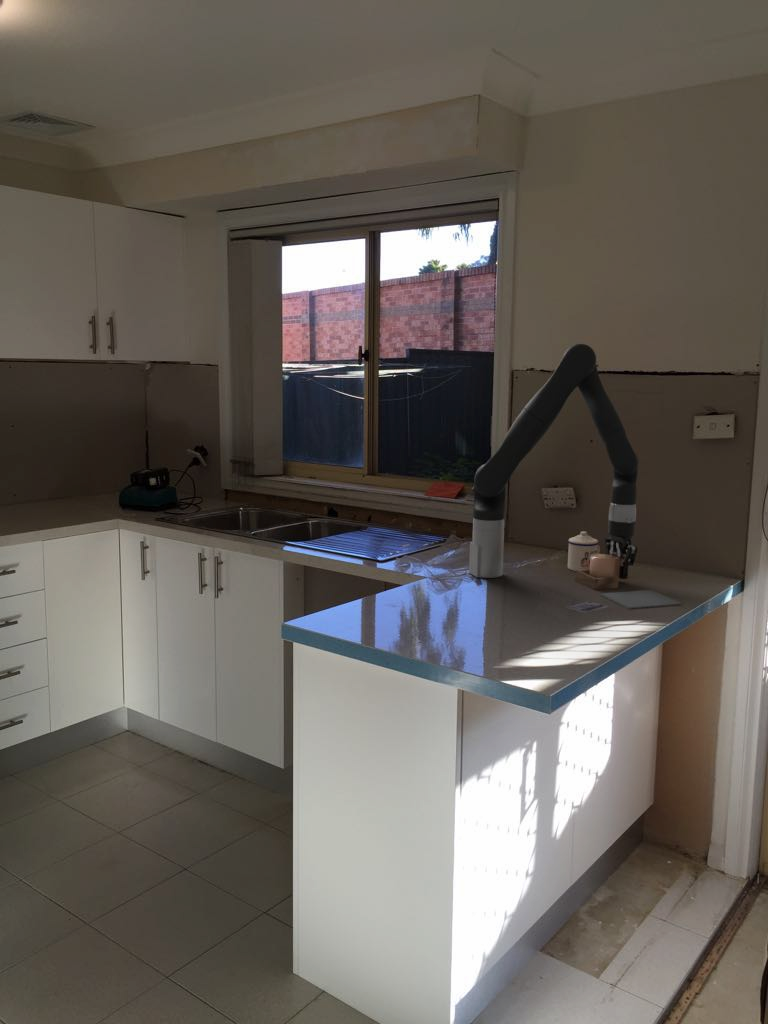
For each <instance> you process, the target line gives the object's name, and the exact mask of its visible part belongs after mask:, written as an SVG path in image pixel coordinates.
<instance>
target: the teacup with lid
mask: <svg viewBox="0 0 768 1024" xmlns="http://www.w3.org/2000/svg"><path fill="white" fill-rule="evenodd" d="M567 543H568V553H567V554H568V555H567V568H568V569H569V570H571V571H573V572H575V570H585V569H590V556H591V555H593V554H600V551H601V548H600V545H599V540H598V539H596V538H593V537H592V536H590V535H588V532H587V531H580V534H578V535H576V536H573V537H570V538H569V539H568V541H567Z"/></svg>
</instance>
